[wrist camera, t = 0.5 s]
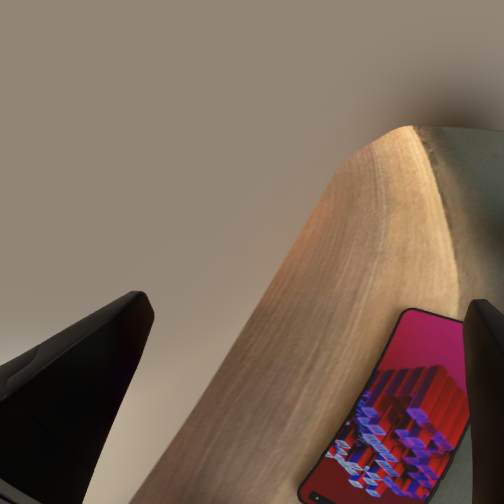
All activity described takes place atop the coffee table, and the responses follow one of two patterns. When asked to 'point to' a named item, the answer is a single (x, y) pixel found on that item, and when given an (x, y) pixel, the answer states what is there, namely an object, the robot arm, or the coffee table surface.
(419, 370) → the smartphone
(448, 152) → the coffee table surface
